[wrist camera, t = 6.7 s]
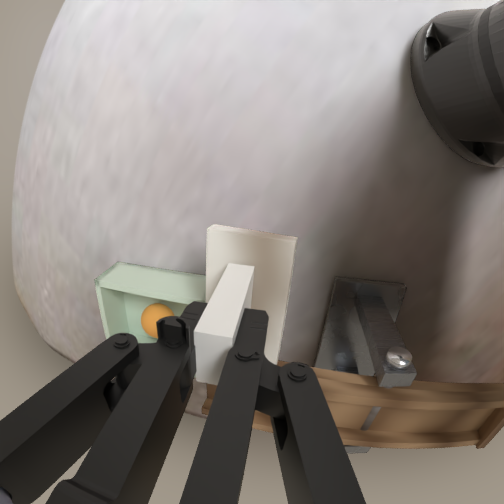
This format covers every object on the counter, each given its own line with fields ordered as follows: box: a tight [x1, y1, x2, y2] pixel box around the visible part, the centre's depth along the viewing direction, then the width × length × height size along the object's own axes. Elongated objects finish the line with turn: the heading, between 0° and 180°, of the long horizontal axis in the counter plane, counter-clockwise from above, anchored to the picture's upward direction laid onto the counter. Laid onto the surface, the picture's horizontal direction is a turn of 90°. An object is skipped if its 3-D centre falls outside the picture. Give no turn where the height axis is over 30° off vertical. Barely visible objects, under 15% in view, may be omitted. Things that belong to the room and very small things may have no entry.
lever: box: [202, 224, 504, 449], centre depth 16 cm, size 26×15×3 cm, turn 86°
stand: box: [313, 276, 417, 454], centre depth 22 cm, size 7×12×11 cm, turn 176°
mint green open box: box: [94, 262, 206, 378], centre depth 27 cm, size 11×9×4 cm
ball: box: [141, 303, 174, 338], centre depth 27 cm, size 4×4×4 cm
